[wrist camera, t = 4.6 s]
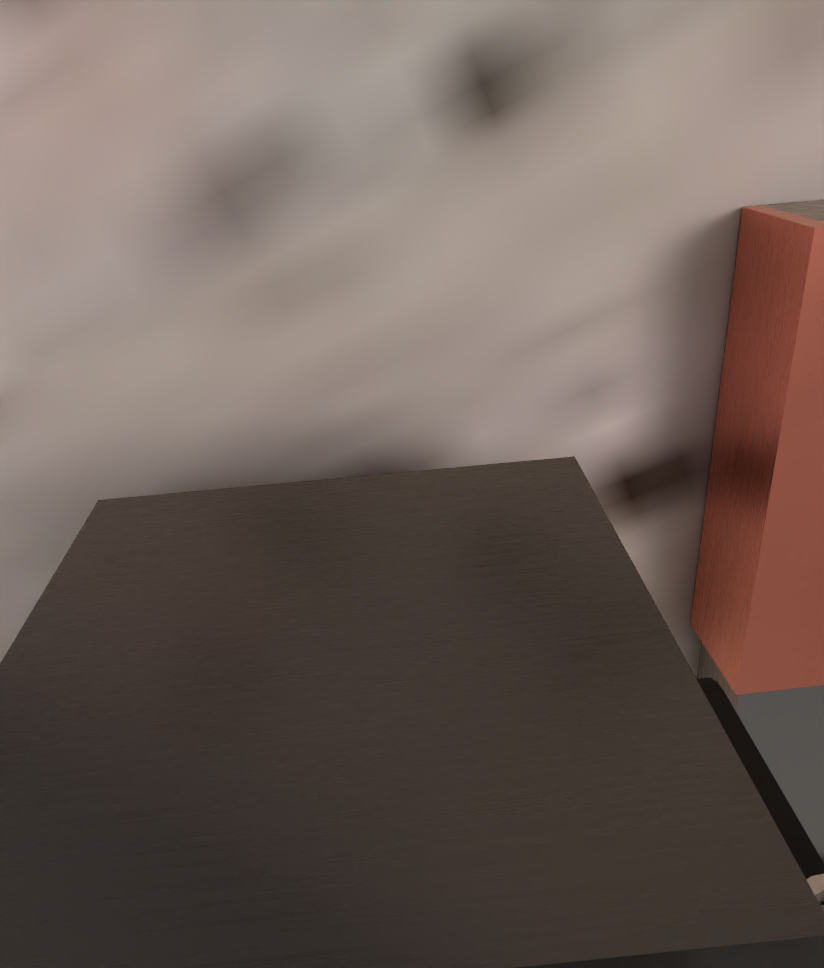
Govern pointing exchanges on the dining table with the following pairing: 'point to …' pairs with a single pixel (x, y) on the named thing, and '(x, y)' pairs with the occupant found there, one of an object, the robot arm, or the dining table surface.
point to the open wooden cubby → (375, 743)
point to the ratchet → (771, 504)
